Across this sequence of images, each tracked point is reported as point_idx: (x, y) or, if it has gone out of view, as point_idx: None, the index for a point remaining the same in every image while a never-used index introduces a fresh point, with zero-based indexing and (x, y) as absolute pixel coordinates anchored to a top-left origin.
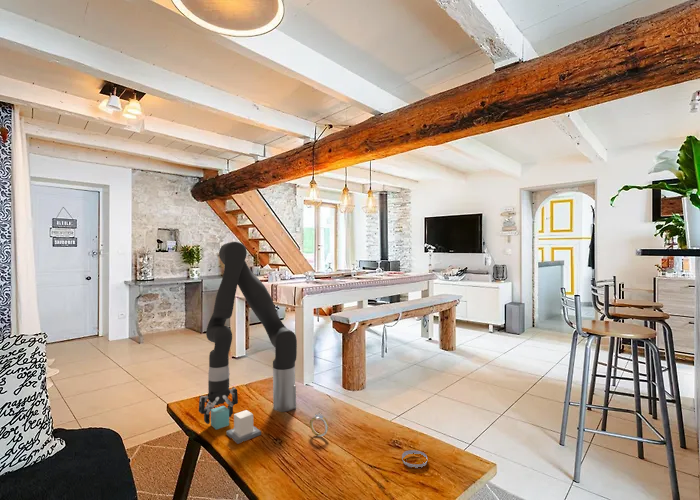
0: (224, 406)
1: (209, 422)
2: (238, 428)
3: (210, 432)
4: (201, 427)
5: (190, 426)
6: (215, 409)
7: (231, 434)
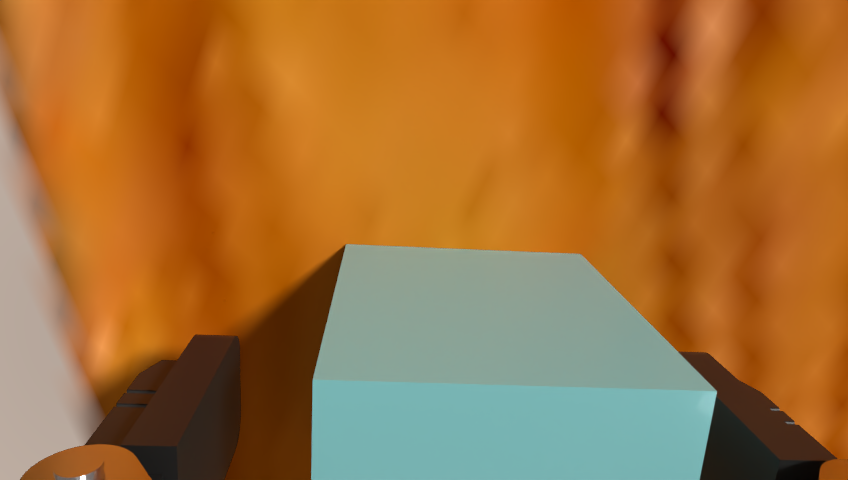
0: (694, 471)
1: (231, 453)
2: None
3: (236, 473)
4: (180, 209)
5: (20, 5)
6: (416, 470)
7: None
